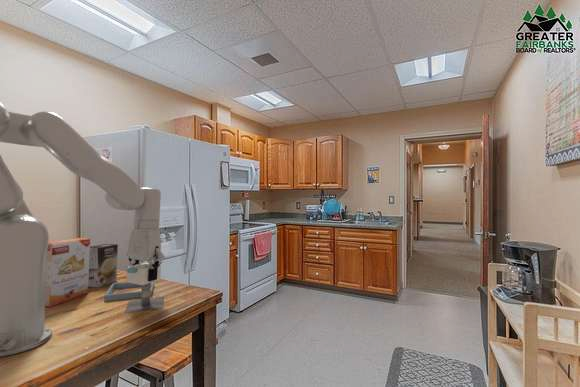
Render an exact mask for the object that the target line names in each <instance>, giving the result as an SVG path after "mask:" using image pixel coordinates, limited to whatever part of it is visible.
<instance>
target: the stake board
mask: <svg viewBox="0 0 580 387" xmlns="http://www.w3.org/2000/svg"><path fill="white" fill-rule="evenodd" d="M150 288H151V285H142V286H141V287H140V289H141V291H142V297H140V298H141V299H130V300H128V302H127V305H126V307H125V310H124V312H123V313H124V314H130V313H137V312H145V311H151V310H154V311H155V310H158V309H159V310H160V309H164V306H165V296H158V297H151V296H150Z"/></svg>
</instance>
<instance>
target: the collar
mask: <svg viewBox="0 0 580 387" xmlns="http://www.w3.org/2000/svg"><path fill="white" fill-rule="evenodd" d="M148 269H150V266H149V263H148V262H143V263H140V264H137V265H133V266H130V265H129V266H127V272H126V282H128V283H133V284H139V285H145V284H148V283H151V282H154V283H155V282H158V281H161V273H162V272H161V271H162V264H160V265H159V267H158V272H157V280H153V281H148Z"/></svg>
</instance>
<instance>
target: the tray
mask: <svg viewBox="0 0 580 387" xmlns="http://www.w3.org/2000/svg"><path fill="white" fill-rule="evenodd" d="M145 285H151V288H150V297H152V296H153V291H154V286H155V282H151V283H148V284H145ZM141 286H142V285H139V284H133V283H128V282H127V281H125V282H124V281H122V282H113V283H111V285H110V286H109V288H108V289H107V291H106V293H105V294H104V295H103V297H104V299H103V301H104V302H105V303H106V302H112V301H121V300H132V299H138V298H141V297H142V290H138V291H129V292H128V291H127V292H121V293H113V292H114V291H115V290H126V289H127V290H128V289H137V288H141Z"/></svg>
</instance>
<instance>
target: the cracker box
mask: <svg viewBox="0 0 580 387" xmlns="http://www.w3.org/2000/svg"><path fill="white" fill-rule="evenodd" d="M90 246H91V238H86V237H85V238H84V237H78V238H77V237H76V238H69V239H64V240H55V241H49V242H48V249H47V257H46V282H45V308H46V307H48V308H50V307H54V306H56V305H60V304H62V303H65V302H67V301H70V300H74V299H76V298H79V297H81V296H85V295H87V294H89V287H88V279H89V256H90Z"/></svg>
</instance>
